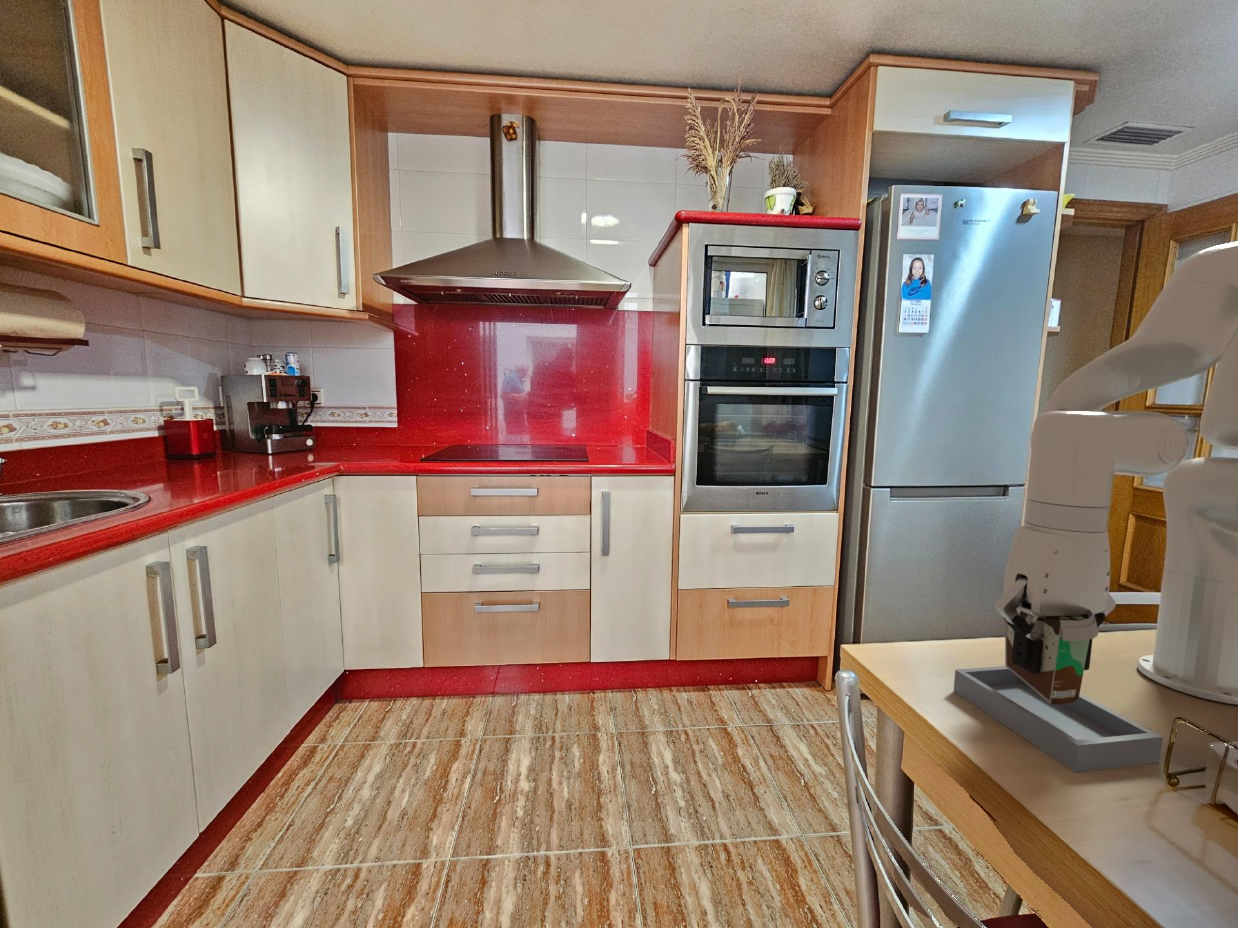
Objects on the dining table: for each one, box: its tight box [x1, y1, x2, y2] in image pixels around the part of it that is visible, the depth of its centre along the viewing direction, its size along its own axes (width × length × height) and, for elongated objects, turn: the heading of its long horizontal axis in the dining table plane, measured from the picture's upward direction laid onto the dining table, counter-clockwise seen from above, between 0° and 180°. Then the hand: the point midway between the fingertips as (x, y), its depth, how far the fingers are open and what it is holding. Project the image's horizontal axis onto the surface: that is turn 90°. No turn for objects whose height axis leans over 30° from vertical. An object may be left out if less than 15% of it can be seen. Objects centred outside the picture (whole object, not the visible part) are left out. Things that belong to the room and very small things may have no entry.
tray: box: [953, 665, 1163, 773], centre depth 66 cm, size 11×17×3 cm, turn 9°
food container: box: [1004, 606, 1099, 704], centre depth 65 cm, size 12×6×10 cm, turn 171°
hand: (1049, 664), depth 65 cm, fingers closed on food container, 6 cm apart
